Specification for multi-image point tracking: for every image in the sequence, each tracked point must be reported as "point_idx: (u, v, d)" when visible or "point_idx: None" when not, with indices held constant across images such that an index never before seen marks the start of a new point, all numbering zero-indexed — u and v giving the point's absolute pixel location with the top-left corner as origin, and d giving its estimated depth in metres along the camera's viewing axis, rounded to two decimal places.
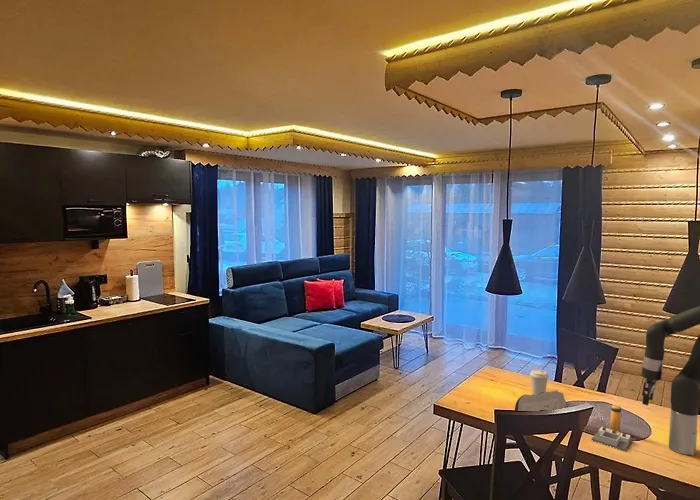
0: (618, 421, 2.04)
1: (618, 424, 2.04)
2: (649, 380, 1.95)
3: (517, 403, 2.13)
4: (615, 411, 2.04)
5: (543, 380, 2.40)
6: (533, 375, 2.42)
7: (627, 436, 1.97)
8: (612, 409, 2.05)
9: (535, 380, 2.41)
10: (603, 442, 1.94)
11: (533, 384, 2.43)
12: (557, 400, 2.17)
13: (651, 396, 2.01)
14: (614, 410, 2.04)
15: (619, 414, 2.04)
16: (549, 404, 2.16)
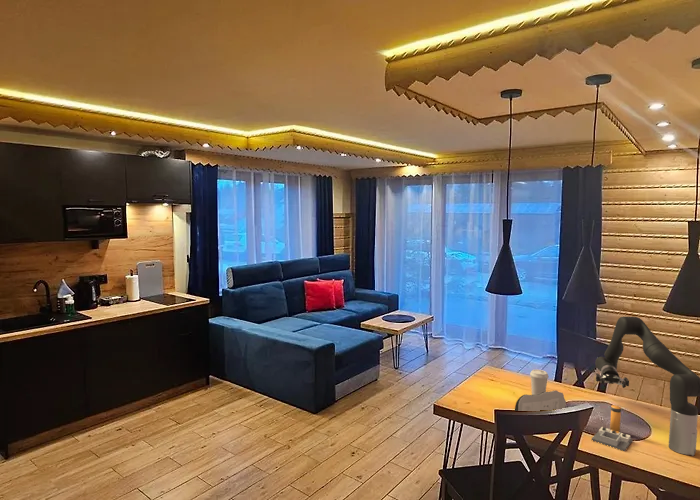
0: (618, 421, 2.04)
1: (618, 424, 2.04)
2: (602, 375, 2.27)
3: (517, 403, 2.13)
4: (615, 411, 2.04)
5: (543, 380, 2.40)
6: (533, 375, 2.42)
7: (627, 436, 1.97)
8: (612, 409, 2.05)
9: (535, 380, 2.41)
10: (603, 442, 1.94)
11: (533, 384, 2.43)
12: (557, 400, 2.17)
13: (622, 383, 2.15)
14: (614, 410, 2.04)
15: (619, 414, 2.04)
16: (549, 404, 2.16)
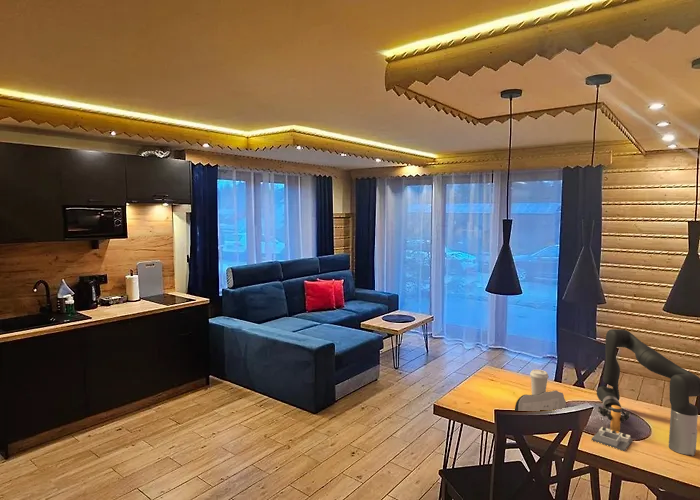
0: (618, 421, 2.04)
1: (618, 424, 2.04)
2: None
3: (517, 403, 2.13)
4: (615, 411, 2.04)
5: (543, 380, 2.40)
6: (533, 375, 2.42)
7: (627, 436, 1.97)
8: (612, 409, 2.05)
9: (535, 380, 2.41)
10: (603, 442, 1.94)
11: (533, 384, 2.43)
12: (557, 400, 2.17)
13: None
14: (615, 410, 2.04)
15: (619, 414, 2.04)
16: (549, 404, 2.16)
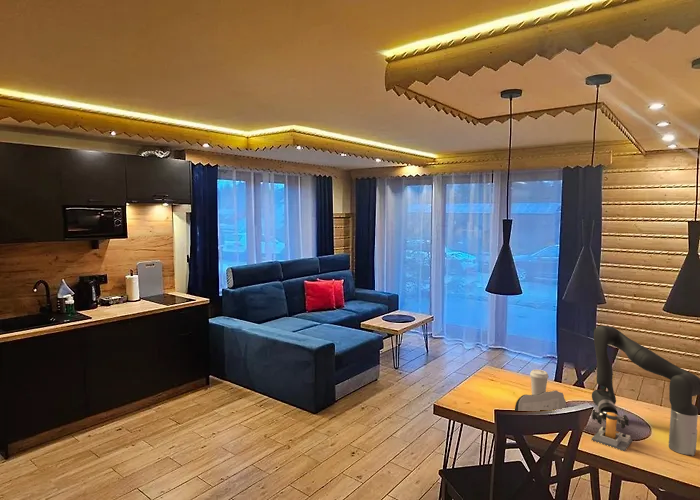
0: (614, 429, 1.93)
1: (614, 432, 1.93)
2: (599, 412, 2.05)
3: (517, 403, 2.13)
4: (611, 418, 1.94)
5: (543, 380, 2.40)
6: (533, 375, 2.42)
7: (627, 436, 1.97)
8: (608, 416, 1.95)
9: (535, 380, 2.41)
10: (603, 442, 1.94)
11: (533, 384, 2.43)
12: (557, 400, 2.17)
13: (621, 423, 1.93)
14: (610, 417, 1.94)
15: (615, 422, 1.93)
16: (549, 404, 2.16)
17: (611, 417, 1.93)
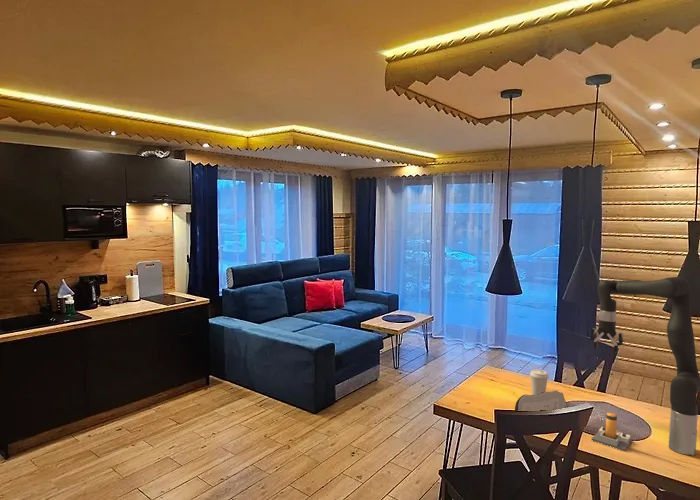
0: (614, 429, 1.93)
1: (614, 433, 1.93)
2: None
3: (517, 403, 2.13)
4: (611, 419, 1.93)
5: (543, 380, 2.40)
6: (533, 375, 2.42)
7: (627, 436, 1.97)
8: (607, 417, 1.94)
9: (535, 380, 2.41)
10: (603, 442, 1.94)
11: (533, 384, 2.43)
12: (557, 400, 2.17)
13: None
14: (610, 418, 1.93)
15: (615, 422, 1.93)
16: (549, 404, 2.16)
17: (611, 418, 1.93)
